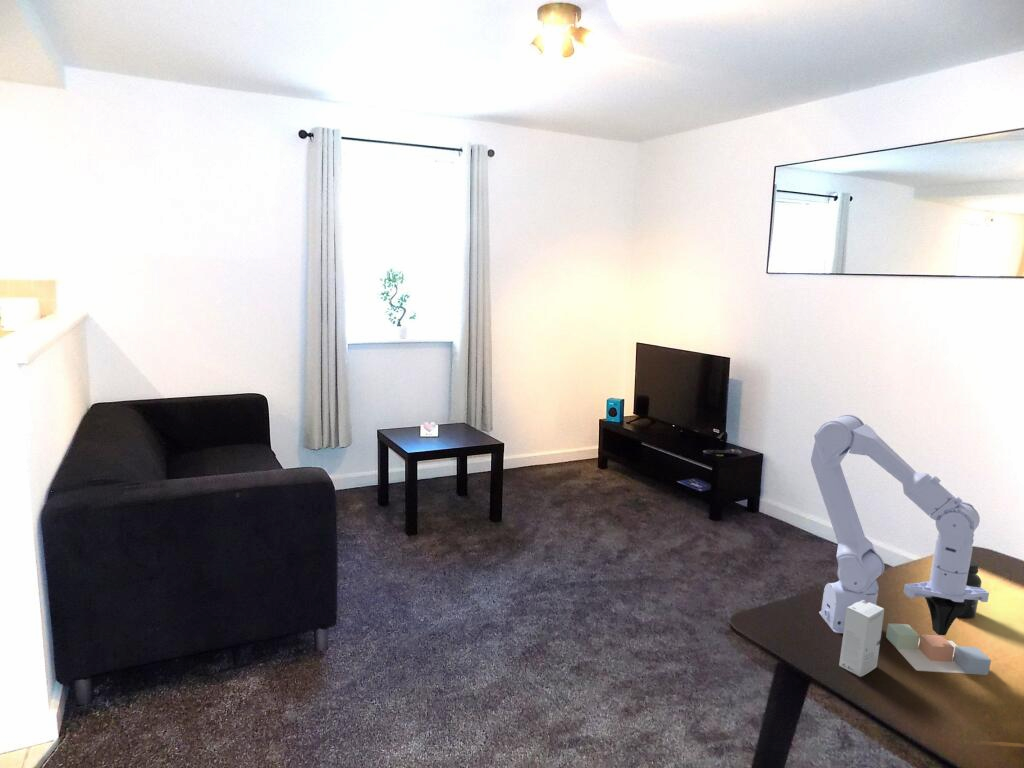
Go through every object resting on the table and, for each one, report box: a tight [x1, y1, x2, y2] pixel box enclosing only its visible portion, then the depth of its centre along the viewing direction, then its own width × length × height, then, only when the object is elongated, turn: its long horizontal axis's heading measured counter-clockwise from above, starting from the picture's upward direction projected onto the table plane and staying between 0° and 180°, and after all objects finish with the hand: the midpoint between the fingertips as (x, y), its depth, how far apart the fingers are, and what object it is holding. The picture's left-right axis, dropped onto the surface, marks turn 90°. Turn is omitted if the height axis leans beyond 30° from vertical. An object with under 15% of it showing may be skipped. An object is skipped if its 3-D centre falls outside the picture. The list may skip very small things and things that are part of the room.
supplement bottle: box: [957, 559, 982, 620], centre depth 143 cm, size 7×7×12 cm
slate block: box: [953, 645, 992, 676], centre depth 123 cm, size 4×4×3 cm
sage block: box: [885, 622, 921, 650], centre depth 130 cm, size 4×4×3 cm
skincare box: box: [838, 600, 885, 678], centre depth 122 cm, size 6×4×12 cm
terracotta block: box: [919, 634, 954, 662], centre depth 127 cm, size 4×4×3 cm
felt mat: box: [885, 636, 987, 676], centre depth 127 cm, size 13×11×1 cm
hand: (938, 632), depth 126 cm, fingers closed
